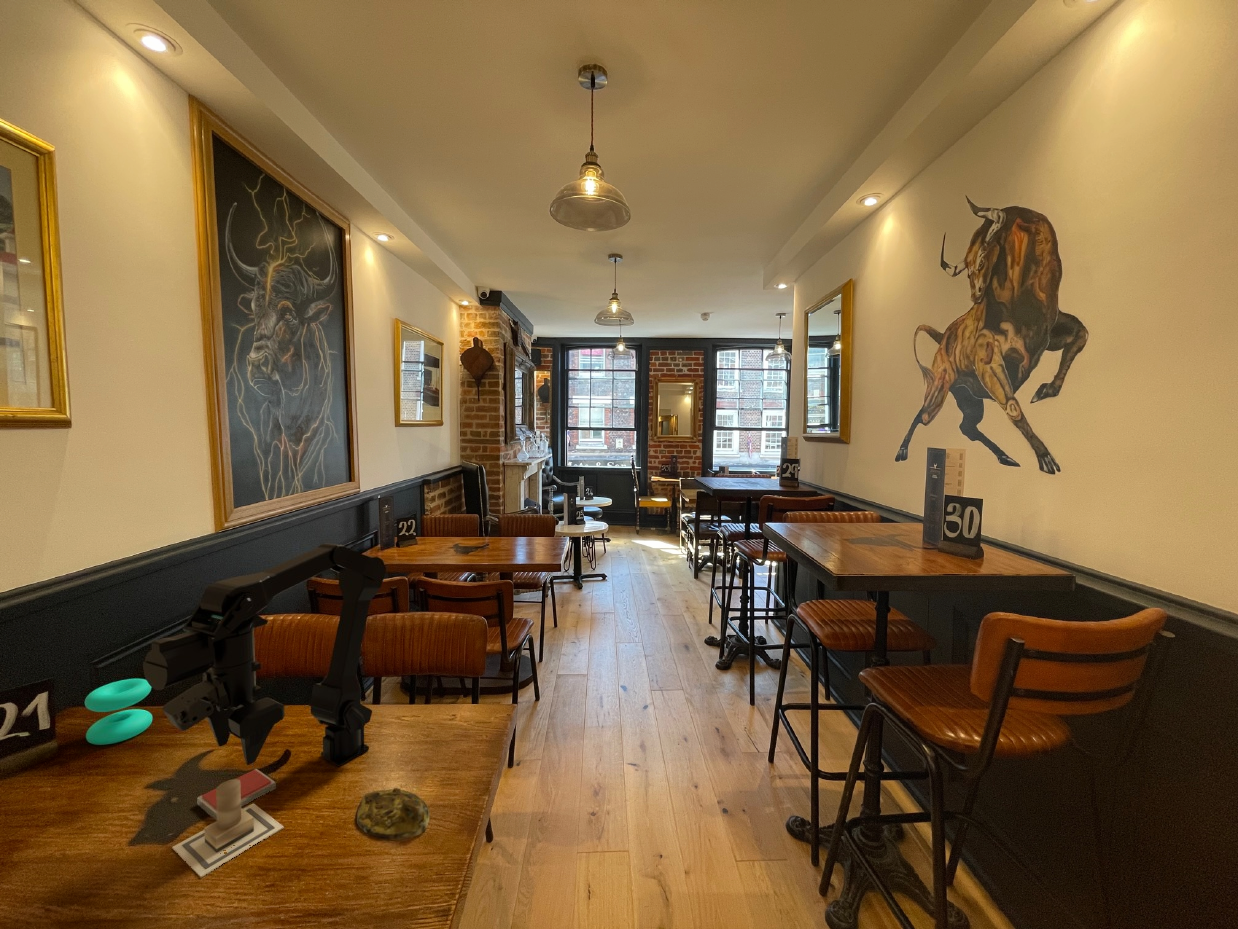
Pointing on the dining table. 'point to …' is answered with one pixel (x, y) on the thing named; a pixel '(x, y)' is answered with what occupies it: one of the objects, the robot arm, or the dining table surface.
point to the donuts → (121, 722)
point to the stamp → (228, 817)
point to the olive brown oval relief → (392, 814)
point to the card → (208, 859)
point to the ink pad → (251, 789)
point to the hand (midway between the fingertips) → (236, 754)
